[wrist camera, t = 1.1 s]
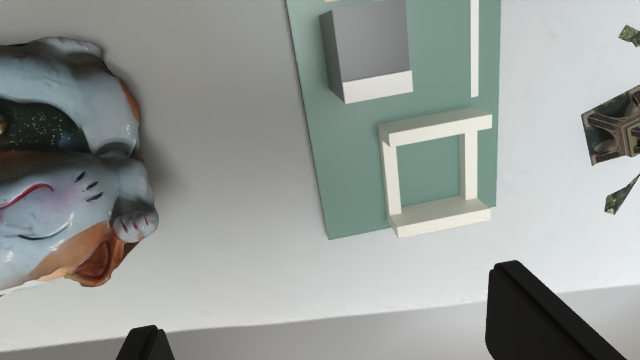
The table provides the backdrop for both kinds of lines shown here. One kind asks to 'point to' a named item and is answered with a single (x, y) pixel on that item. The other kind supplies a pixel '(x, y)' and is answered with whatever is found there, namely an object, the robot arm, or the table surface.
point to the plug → (367, 50)
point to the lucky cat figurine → (67, 166)
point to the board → (407, 123)
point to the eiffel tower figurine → (615, 129)
